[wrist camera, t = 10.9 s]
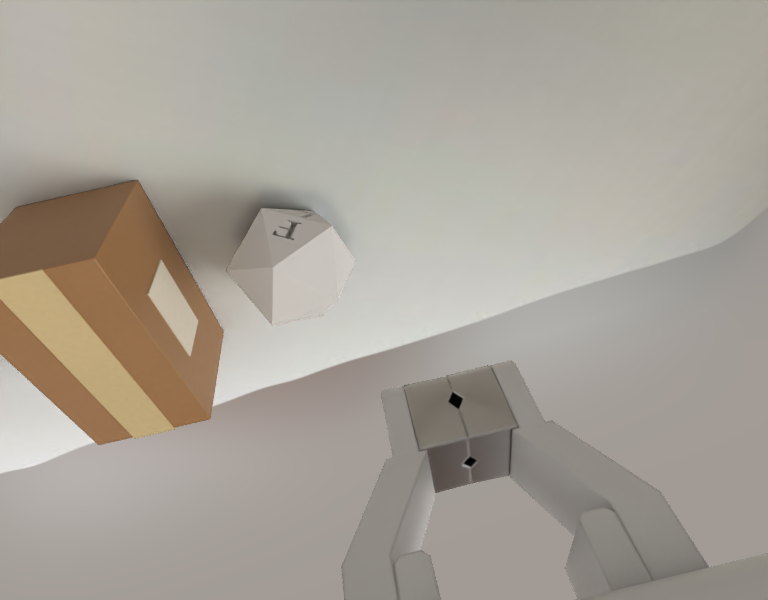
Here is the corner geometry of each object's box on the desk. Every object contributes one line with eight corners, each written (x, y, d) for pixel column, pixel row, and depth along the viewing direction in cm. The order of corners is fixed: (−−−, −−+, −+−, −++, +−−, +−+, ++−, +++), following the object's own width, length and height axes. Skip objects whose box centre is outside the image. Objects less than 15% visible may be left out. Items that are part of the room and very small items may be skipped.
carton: (139, 178, 33) (94, 257, 25) (225, 332, 44) (212, 420, 36) (14, 206, 33) (-68, 294, 25) (131, 353, 44) (98, 447, 36)
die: (368, 225, 39) (350, 215, 30) (344, 325, 41) (319, 348, 31) (274, 202, 40) (225, 184, 30) (253, 301, 41) (199, 315, 31)
